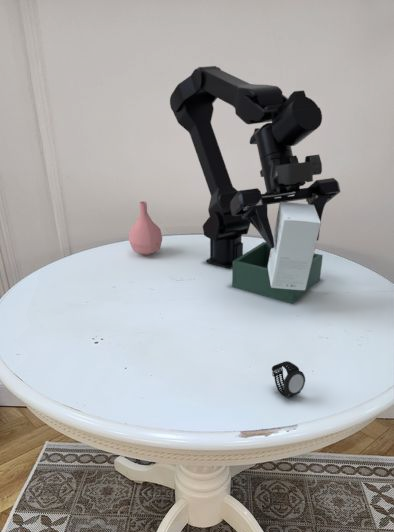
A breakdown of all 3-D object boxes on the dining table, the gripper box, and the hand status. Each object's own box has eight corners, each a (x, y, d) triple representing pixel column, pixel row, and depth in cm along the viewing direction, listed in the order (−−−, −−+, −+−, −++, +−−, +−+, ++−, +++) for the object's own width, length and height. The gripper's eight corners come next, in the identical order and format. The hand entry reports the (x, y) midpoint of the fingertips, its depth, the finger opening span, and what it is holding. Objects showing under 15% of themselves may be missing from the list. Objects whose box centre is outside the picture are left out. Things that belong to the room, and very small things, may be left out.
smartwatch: (279, 405, 76) (281, 376, 73) (268, 384, 80) (270, 356, 77) (307, 401, 76) (310, 372, 74) (295, 380, 81) (298, 353, 78)
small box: (305, 291, 95) (322, 222, 87) (270, 288, 95) (283, 219, 87) (300, 269, 101) (314, 203, 93) (267, 266, 101) (278, 200, 93)
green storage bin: (231, 286, 108) (232, 261, 105) (262, 265, 117) (263, 241, 114) (292, 303, 102) (294, 276, 99) (319, 280, 110) (322, 255, 107)
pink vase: (154, 244, 129) (151, 195, 122) (169, 255, 123) (166, 203, 117) (124, 251, 126) (120, 201, 119) (138, 262, 120) (134, 210, 114)
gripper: (239, 143, 84) (259, 240, 83) (345, 131, 88) (365, 223, 87) (221, 171, 95) (239, 256, 94) (317, 159, 99) (334, 241, 98)
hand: (294, 244), depth 93 cm, fingers closed on small box, 8 cm apart
